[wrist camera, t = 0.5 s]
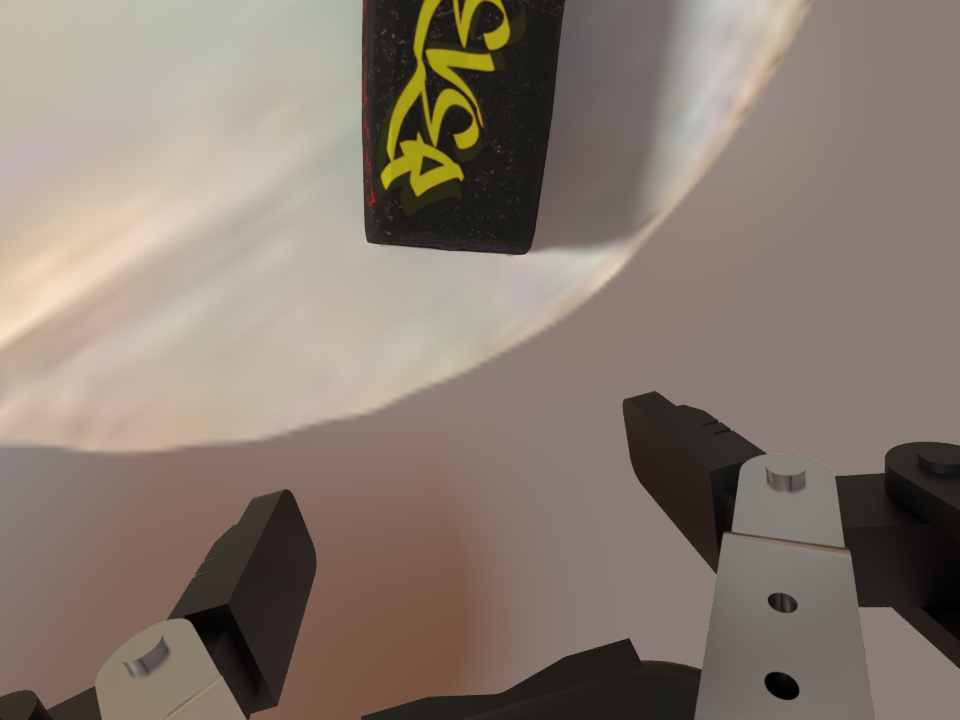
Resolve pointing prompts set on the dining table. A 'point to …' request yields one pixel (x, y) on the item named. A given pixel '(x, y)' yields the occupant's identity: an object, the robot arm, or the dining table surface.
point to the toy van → (457, 121)
